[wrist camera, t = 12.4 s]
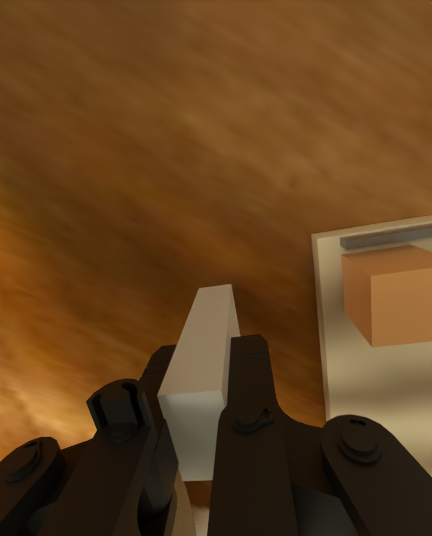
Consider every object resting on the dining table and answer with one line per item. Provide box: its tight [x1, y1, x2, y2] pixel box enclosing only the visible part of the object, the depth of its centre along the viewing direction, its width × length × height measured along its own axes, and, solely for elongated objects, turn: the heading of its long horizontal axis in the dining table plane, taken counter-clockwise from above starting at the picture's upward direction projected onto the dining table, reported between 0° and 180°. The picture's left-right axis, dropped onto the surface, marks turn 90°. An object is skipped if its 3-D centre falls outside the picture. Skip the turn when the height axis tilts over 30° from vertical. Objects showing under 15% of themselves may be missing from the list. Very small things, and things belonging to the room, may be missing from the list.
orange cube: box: [341, 244, 432, 347], centre depth 11 cm, size 3×3×3 cm
